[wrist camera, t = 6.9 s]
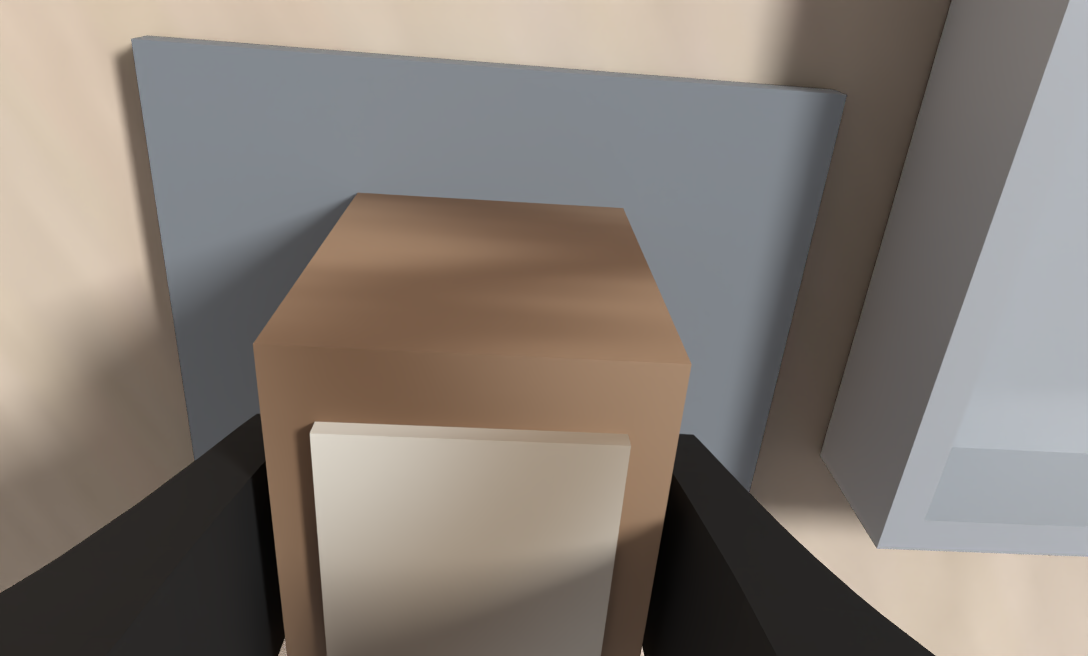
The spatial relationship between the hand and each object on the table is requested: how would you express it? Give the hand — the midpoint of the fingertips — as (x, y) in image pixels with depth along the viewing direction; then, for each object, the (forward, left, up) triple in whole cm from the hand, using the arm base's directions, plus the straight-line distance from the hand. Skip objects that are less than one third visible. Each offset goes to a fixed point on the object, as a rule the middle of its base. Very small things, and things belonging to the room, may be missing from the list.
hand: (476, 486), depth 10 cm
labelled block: (0, 0, -3) cm, 3 cm away
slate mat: (0, 0, -3) cm, 3 cm away
